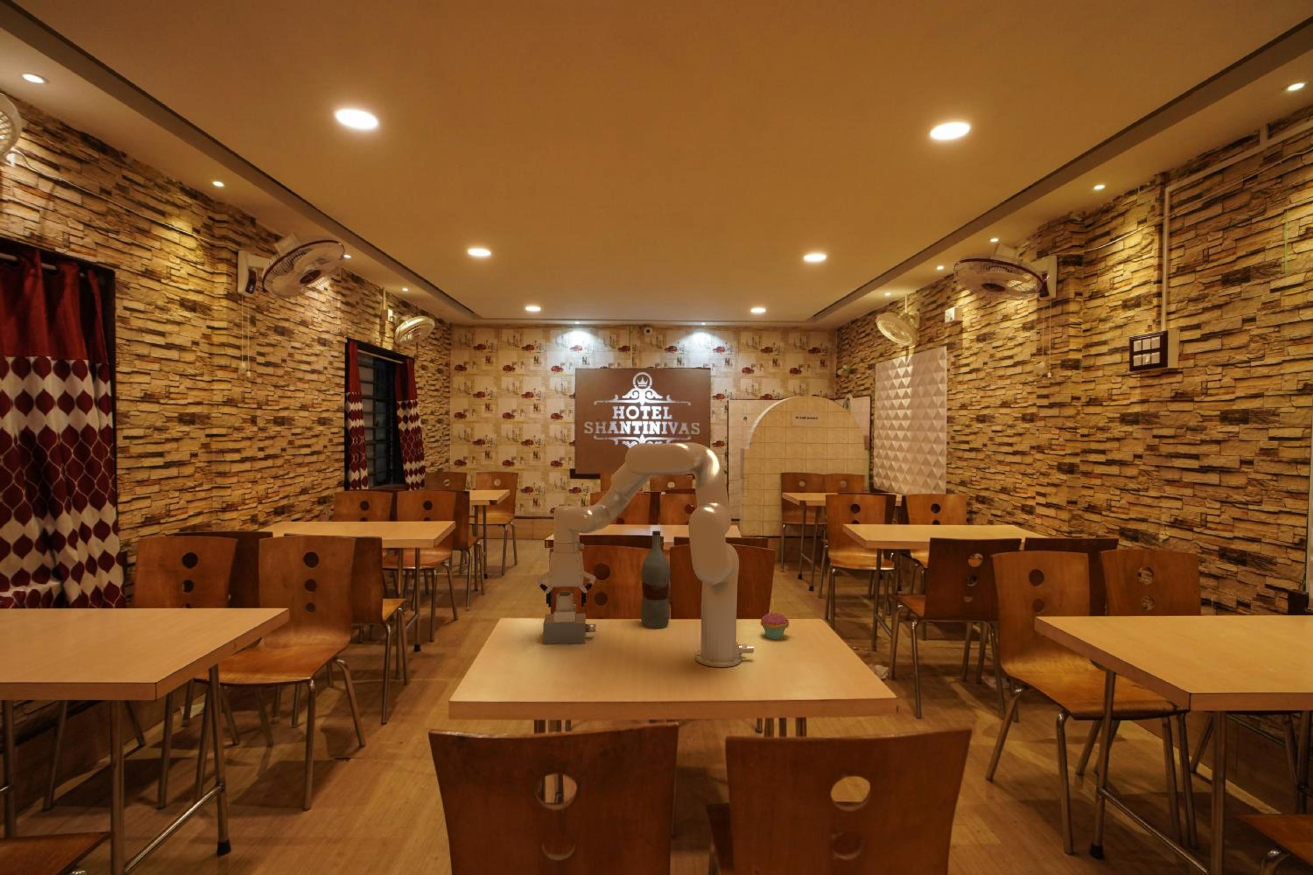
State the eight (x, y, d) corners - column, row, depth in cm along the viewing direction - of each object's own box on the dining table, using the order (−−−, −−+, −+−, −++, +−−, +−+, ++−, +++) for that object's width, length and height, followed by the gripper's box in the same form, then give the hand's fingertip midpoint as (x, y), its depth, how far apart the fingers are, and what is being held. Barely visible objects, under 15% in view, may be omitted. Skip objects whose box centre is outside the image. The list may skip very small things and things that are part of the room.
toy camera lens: (573, 615, 188) (573, 589, 188) (572, 620, 183) (572, 593, 183) (556, 616, 188) (556, 590, 188) (555, 620, 183) (555, 594, 183)
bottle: (637, 628, 197) (638, 532, 197) (644, 619, 206) (645, 528, 206) (666, 630, 195) (667, 534, 195) (672, 622, 204) (673, 529, 204)
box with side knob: (595, 630, 194) (595, 601, 194) (595, 643, 182) (596, 612, 182) (546, 631, 192) (546, 602, 192) (543, 644, 180) (543, 613, 180)
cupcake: (755, 633, 193) (756, 594, 193) (780, 631, 196) (780, 593, 196) (768, 642, 185) (769, 601, 185) (794, 640, 187) (794, 600, 187)
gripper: (595, 545, 190) (595, 601, 190) (538, 546, 189) (537, 603, 189) (595, 549, 183) (595, 608, 183) (535, 550, 181) (535, 609, 181)
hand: (566, 605), depth 186 cm, fingers open, 9 cm apart
